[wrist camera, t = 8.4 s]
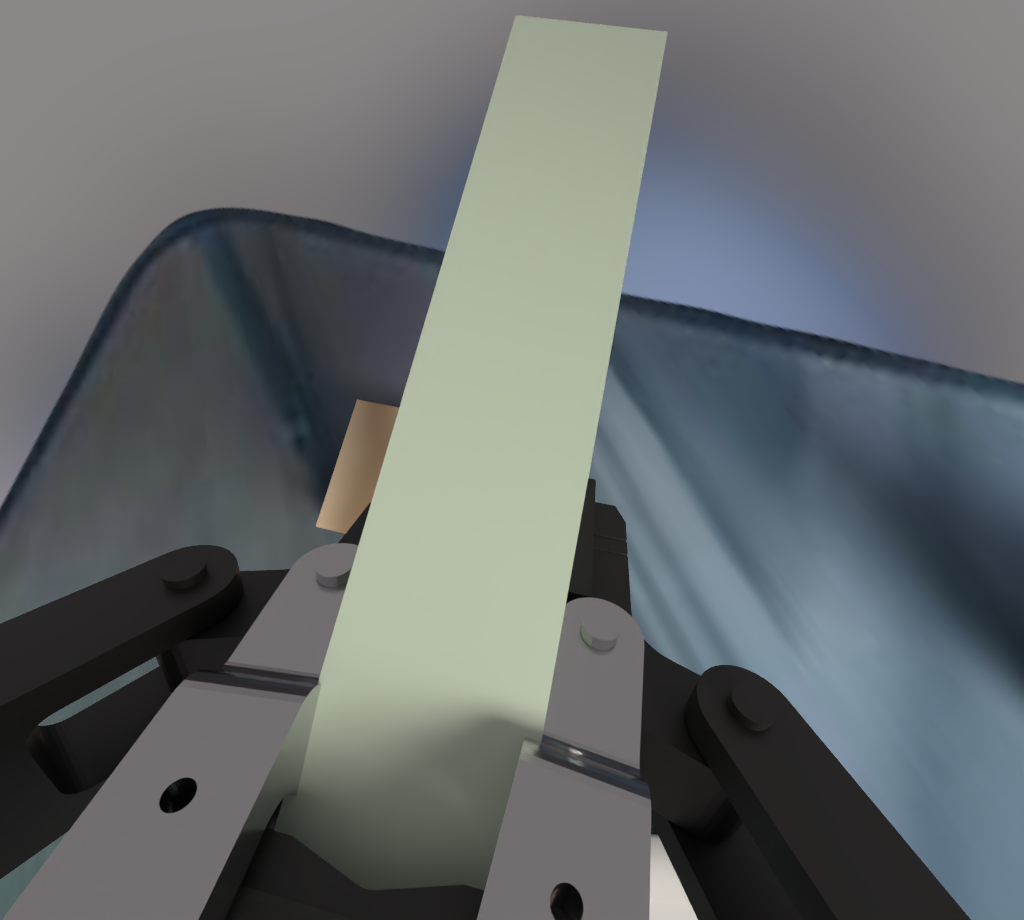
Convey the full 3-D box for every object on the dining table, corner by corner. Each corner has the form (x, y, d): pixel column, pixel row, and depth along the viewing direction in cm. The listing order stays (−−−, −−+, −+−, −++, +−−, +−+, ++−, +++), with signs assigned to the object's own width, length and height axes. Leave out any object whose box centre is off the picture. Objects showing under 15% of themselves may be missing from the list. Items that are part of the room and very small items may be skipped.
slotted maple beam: (576, 460, 31) (581, 443, 27) (552, 581, 29) (555, 581, 25) (378, 421, 32) (357, 399, 28) (343, 533, 30) (315, 526, 26)
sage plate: (588, 350, 17) (667, 31, 7) (519, 704, 14) (498, 986, 4) (523, 339, 17) (515, 15, 7) (443, 685, 14) (249, 911, 4)
